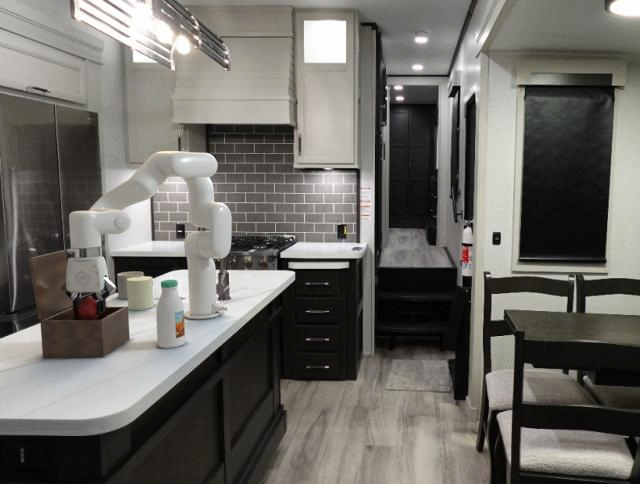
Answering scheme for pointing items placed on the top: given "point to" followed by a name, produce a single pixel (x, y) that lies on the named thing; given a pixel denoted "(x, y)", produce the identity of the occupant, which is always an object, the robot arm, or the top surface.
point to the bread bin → (84, 334)
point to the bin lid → (49, 283)
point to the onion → (88, 309)
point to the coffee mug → (125, 282)
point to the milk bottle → (170, 316)
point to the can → (140, 293)
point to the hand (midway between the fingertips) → (90, 312)
